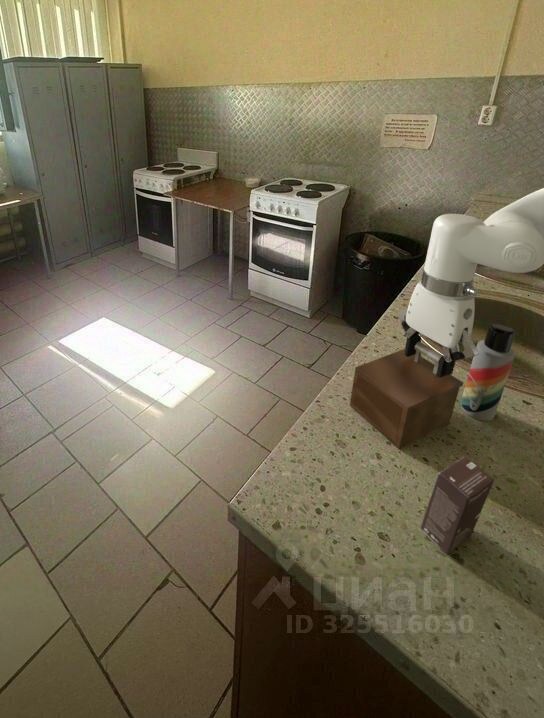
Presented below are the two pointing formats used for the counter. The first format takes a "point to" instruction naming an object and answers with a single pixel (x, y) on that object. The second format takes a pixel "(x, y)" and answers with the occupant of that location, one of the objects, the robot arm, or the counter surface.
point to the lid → (409, 377)
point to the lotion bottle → (489, 373)
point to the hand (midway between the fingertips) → (426, 363)
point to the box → (456, 504)
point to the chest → (400, 413)
